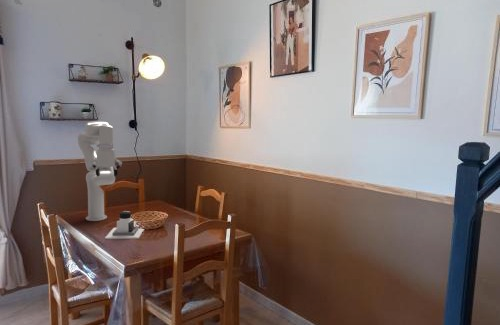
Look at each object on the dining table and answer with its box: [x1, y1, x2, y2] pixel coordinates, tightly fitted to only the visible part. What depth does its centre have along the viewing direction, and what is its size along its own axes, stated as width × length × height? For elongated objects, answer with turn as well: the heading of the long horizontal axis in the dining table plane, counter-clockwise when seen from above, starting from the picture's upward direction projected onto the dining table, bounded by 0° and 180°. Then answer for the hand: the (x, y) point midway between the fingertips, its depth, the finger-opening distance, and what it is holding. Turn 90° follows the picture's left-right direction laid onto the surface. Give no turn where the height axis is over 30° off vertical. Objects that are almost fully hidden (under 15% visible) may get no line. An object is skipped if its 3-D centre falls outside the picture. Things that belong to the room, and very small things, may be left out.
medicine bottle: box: [116, 210, 135, 233], centre depth 197 cm, size 7×7×12 cm
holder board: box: [104, 226, 145, 240], centre depth 197 cm, size 18×18×2 cm
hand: (106, 176), depth 199 cm, fingers open, 9 cm apart
